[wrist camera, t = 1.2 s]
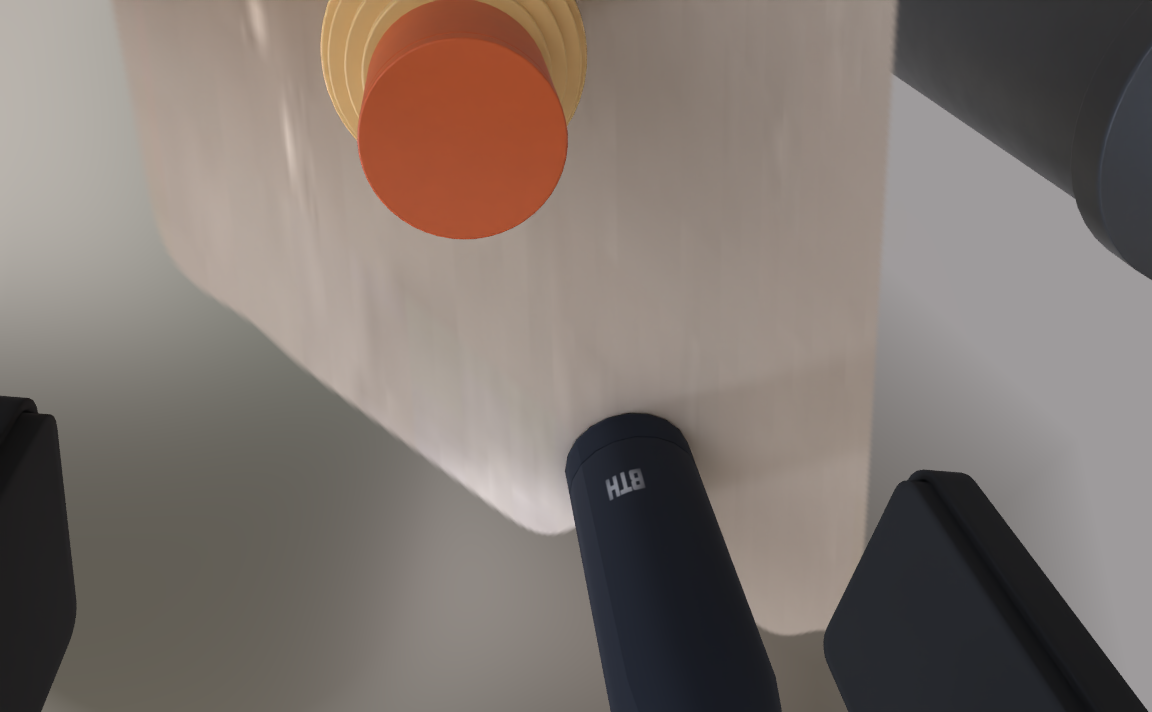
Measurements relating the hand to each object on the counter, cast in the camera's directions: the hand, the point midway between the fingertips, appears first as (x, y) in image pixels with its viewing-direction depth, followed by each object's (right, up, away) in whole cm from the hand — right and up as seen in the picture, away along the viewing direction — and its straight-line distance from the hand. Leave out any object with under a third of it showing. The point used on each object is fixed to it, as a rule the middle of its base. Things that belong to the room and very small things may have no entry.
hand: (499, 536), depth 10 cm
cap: (-2, +8, +10) cm, 13 cm away
